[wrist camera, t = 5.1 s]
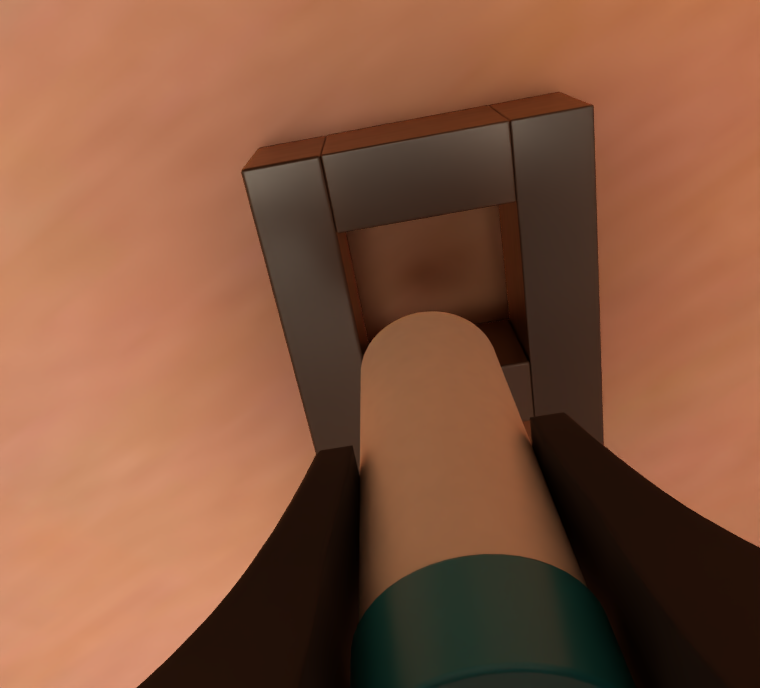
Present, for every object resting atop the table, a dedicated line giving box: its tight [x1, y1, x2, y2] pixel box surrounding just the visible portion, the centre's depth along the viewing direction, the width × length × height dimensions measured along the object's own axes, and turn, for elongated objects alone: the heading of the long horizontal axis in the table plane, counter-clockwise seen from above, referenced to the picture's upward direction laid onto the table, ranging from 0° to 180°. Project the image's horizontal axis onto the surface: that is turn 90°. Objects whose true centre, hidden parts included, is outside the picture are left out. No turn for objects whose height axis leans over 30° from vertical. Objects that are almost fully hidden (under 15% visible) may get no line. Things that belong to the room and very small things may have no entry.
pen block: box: [241, 92, 604, 475], centre depth 21 cm, size 9×15×3 cm, turn 10°
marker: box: [350, 311, 636, 688], centre depth 12 cm, size 3×4×9 cm
